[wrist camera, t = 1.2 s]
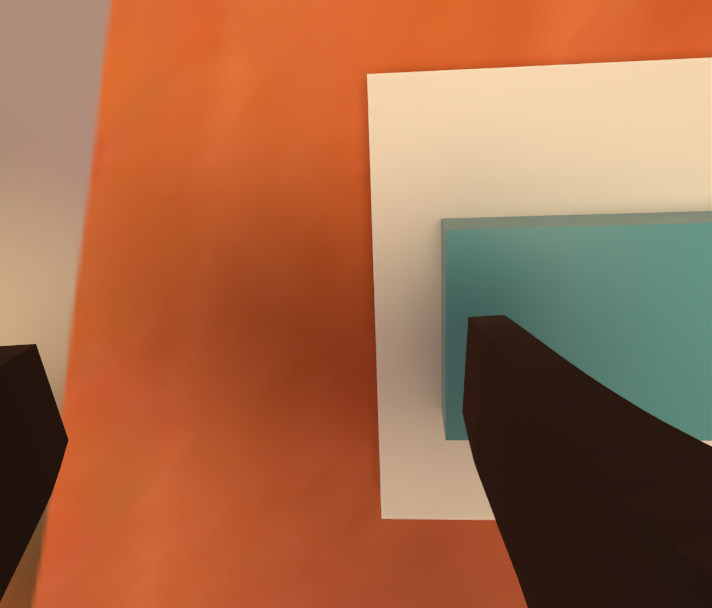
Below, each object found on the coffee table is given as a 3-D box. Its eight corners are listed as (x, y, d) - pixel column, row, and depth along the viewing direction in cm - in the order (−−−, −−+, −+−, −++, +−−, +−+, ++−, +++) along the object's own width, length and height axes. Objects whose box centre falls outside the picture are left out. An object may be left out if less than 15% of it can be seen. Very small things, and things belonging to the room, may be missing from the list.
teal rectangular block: (776, 408, 19) (819, 440, 17) (441, 409, 19) (445, 440, 18) (808, 208, 17) (860, 218, 15) (441, 218, 18) (446, 229, 16)
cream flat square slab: (787, 488, 21) (824, 524, 20) (383, 485, 23) (381, 518, 21) (861, 56, 18) (917, 47, 16) (370, 79, 19) (367, 74, 17)
